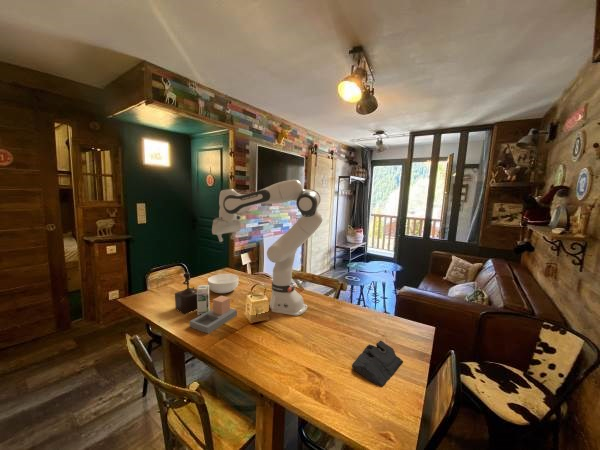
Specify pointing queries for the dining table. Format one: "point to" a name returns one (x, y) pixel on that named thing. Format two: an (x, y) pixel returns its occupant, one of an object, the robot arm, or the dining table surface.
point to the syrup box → (202, 299)
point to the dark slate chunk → (377, 363)
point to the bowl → (223, 283)
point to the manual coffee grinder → (186, 297)
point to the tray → (214, 315)
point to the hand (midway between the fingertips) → (226, 240)
